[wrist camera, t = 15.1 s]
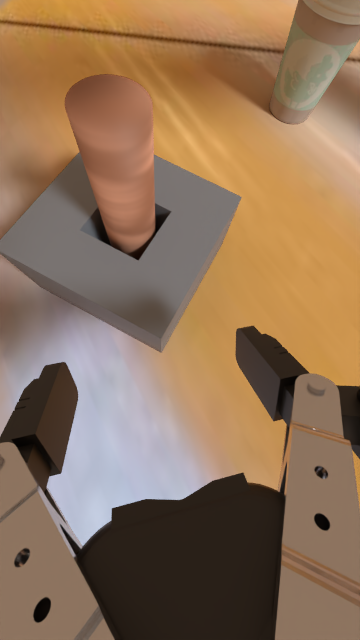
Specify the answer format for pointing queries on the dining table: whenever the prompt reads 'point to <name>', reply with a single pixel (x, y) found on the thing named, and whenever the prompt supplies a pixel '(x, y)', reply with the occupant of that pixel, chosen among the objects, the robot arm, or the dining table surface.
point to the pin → (117, 155)
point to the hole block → (115, 266)
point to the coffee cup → (313, 55)
